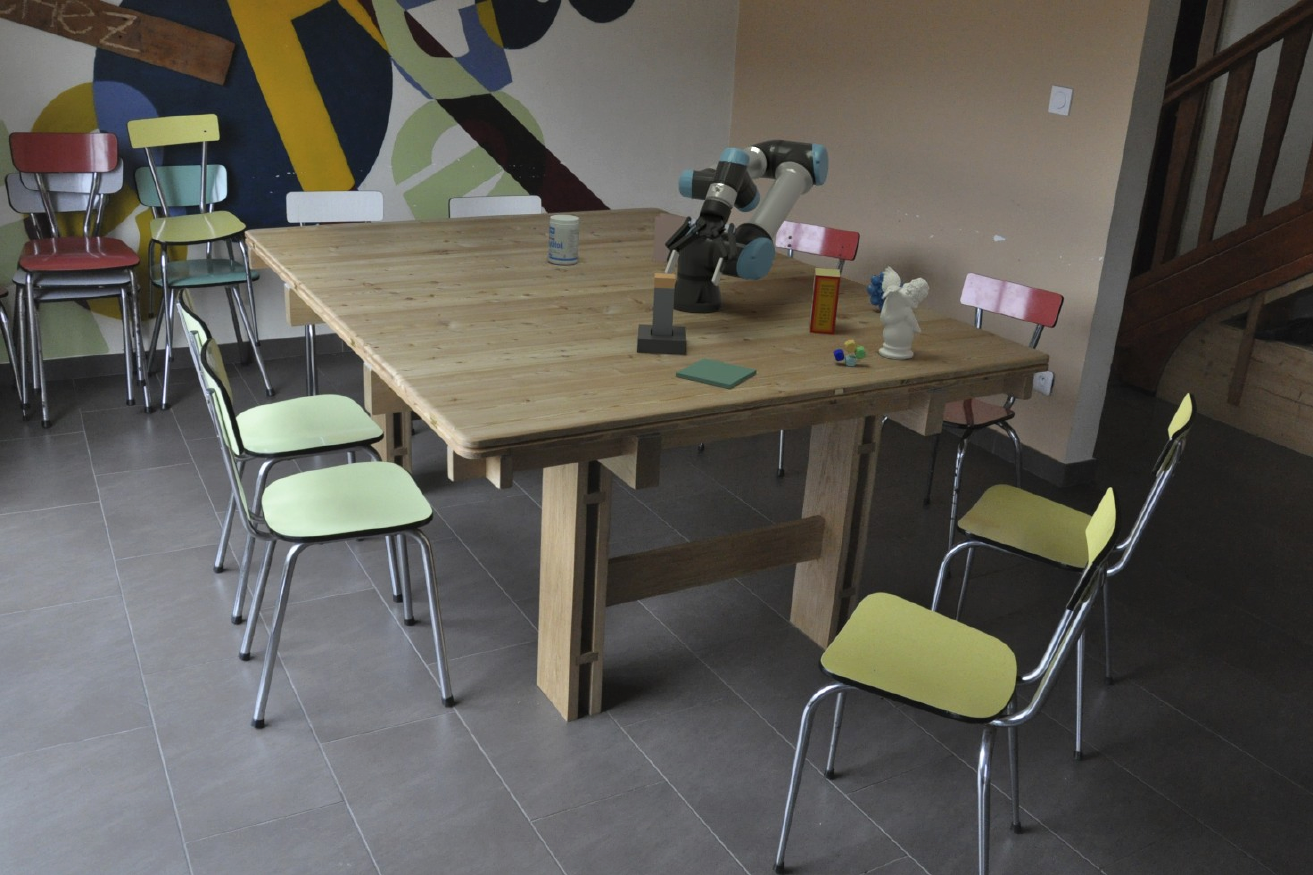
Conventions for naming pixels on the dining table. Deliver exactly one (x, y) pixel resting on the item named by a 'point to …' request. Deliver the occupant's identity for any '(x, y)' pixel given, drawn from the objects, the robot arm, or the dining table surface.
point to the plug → (663, 304)
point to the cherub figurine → (900, 314)
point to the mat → (716, 373)
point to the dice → (850, 347)
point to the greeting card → (665, 234)
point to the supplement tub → (563, 239)
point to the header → (661, 341)
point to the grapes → (877, 290)
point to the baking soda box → (824, 300)
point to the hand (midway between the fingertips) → (690, 279)
